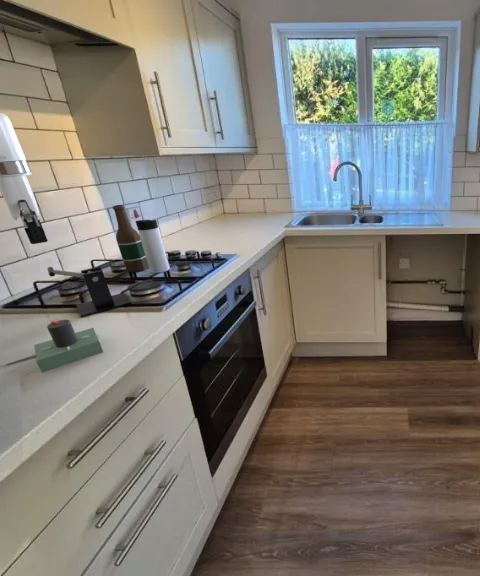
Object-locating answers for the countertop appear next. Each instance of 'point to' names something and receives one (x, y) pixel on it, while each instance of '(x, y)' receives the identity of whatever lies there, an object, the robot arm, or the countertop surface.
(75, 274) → the toaster lever
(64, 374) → the countertop surface
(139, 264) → the beer bottle
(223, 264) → the countertop surface
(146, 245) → the travel mug
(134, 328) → the countertop surface
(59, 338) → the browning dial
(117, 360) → the countertop surface
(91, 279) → the bracket
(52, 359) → the dial block
